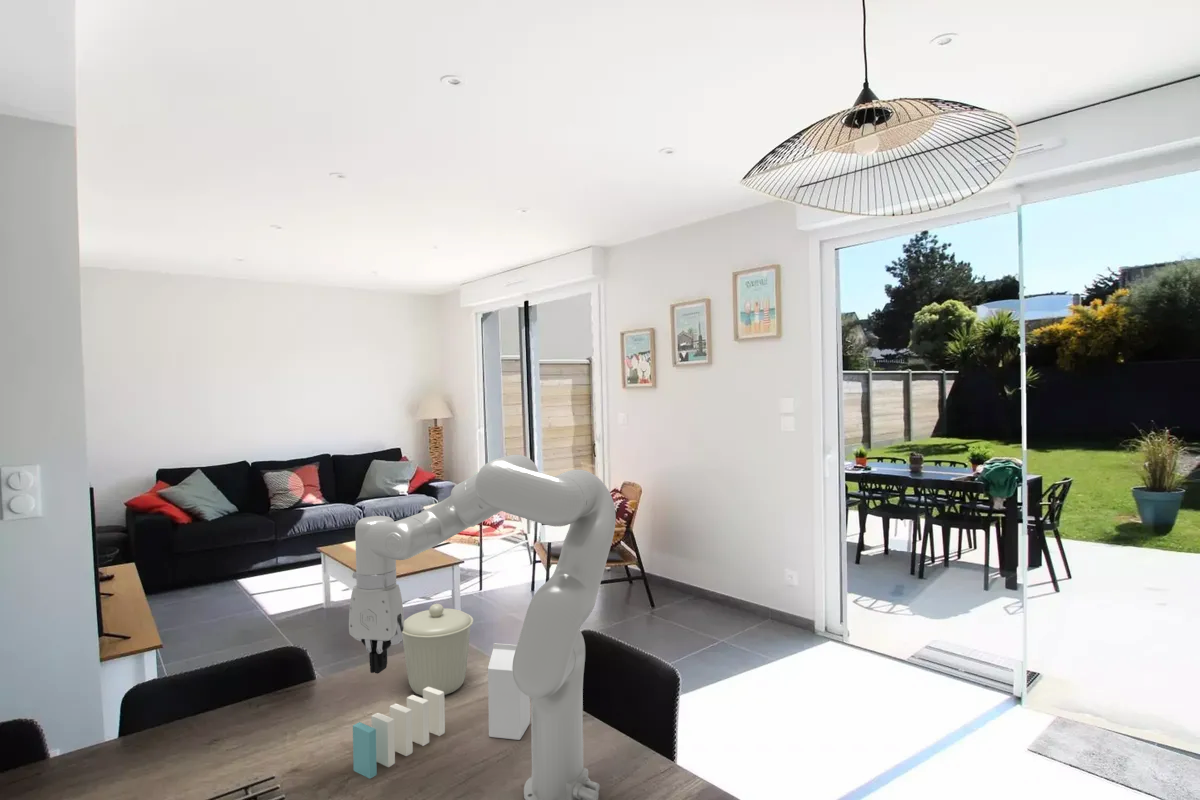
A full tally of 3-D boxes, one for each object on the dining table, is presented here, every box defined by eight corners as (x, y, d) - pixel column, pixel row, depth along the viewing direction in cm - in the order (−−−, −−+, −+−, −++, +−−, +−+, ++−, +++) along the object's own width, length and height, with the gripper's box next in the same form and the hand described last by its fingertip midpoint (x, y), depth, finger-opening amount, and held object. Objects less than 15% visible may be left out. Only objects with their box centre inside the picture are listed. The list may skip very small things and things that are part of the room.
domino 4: (429, 742, 138) (428, 700, 137) (423, 746, 136) (422, 703, 136) (413, 735, 140) (412, 694, 140) (407, 739, 139) (406, 697, 139)
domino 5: (445, 732, 141) (444, 692, 141) (439, 736, 140) (438, 694, 140) (429, 726, 144) (428, 686, 144) (423, 729, 143) (422, 689, 142)
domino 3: (412, 752, 134) (411, 709, 134) (406, 756, 132) (405, 712, 132) (396, 745, 136) (395, 703, 136) (390, 749, 135) (389, 706, 135)
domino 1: (376, 774, 126) (375, 729, 126) (369, 778, 125) (368, 732, 125) (360, 766, 129) (359, 722, 129) (353, 770, 128) (352, 725, 127)
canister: (489, 681, 166) (487, 600, 165) (436, 712, 150) (434, 622, 150) (438, 666, 175) (437, 589, 175) (384, 693, 160) (382, 608, 159)
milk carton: (520, 740, 138) (519, 652, 137) (488, 737, 139) (487, 650, 139) (530, 723, 145) (529, 639, 144) (500, 720, 146) (499, 637, 146)
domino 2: (395, 763, 130) (394, 719, 130) (388, 767, 129) (387, 722, 128) (378, 755, 133) (377, 712, 132) (372, 759, 131) (371, 715, 131)
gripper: (332, 582, 128) (334, 674, 128) (398, 587, 123) (400, 683, 124) (356, 571, 135) (358, 658, 135) (419, 576, 131) (421, 666, 131)
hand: (378, 670), depth 130 cm, fingers closed
